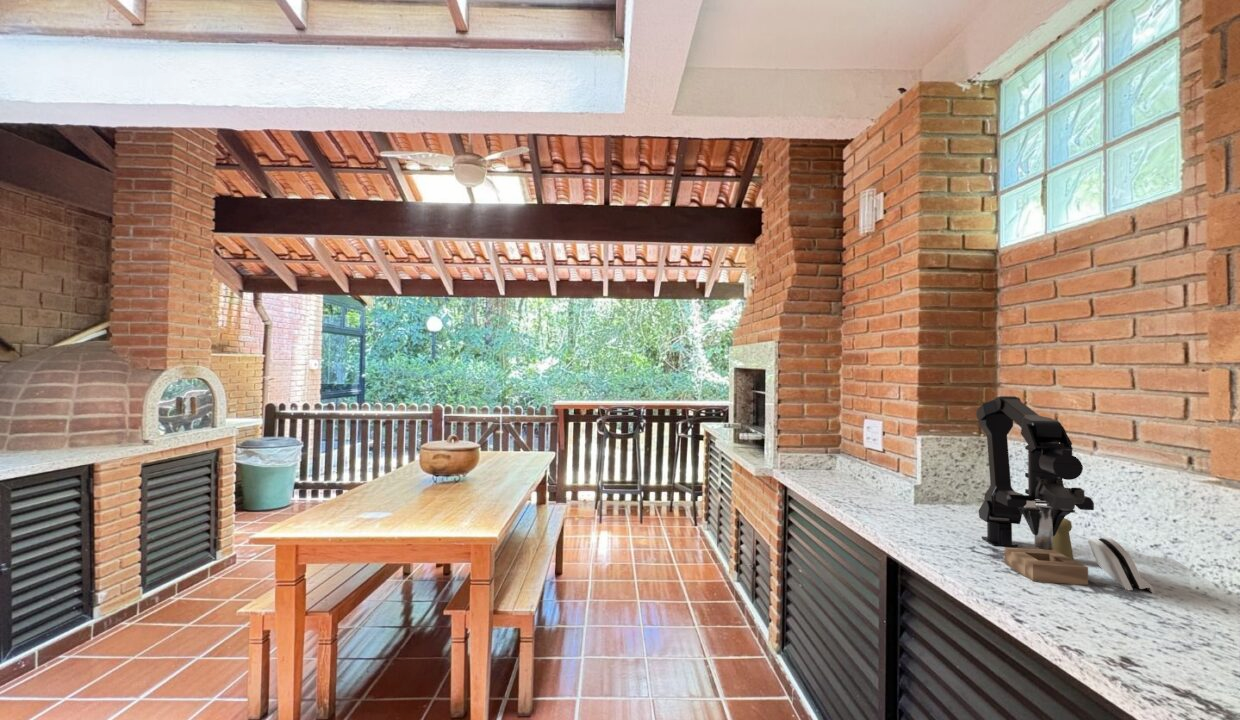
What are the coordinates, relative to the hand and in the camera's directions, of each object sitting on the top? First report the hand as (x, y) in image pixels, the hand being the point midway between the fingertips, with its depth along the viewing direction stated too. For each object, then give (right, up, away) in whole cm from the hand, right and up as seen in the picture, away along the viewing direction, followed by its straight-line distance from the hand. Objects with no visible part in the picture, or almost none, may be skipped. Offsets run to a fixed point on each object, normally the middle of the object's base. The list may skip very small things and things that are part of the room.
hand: (1043, 535), depth 127 cm
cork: (+12, -10, +9) cm, 18 cm away
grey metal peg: (0, -3, 0) cm, 3 cm away
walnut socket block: (0, -9, 0) cm, 9 cm away
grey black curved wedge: (+16, -10, -3) cm, 19 cm away
